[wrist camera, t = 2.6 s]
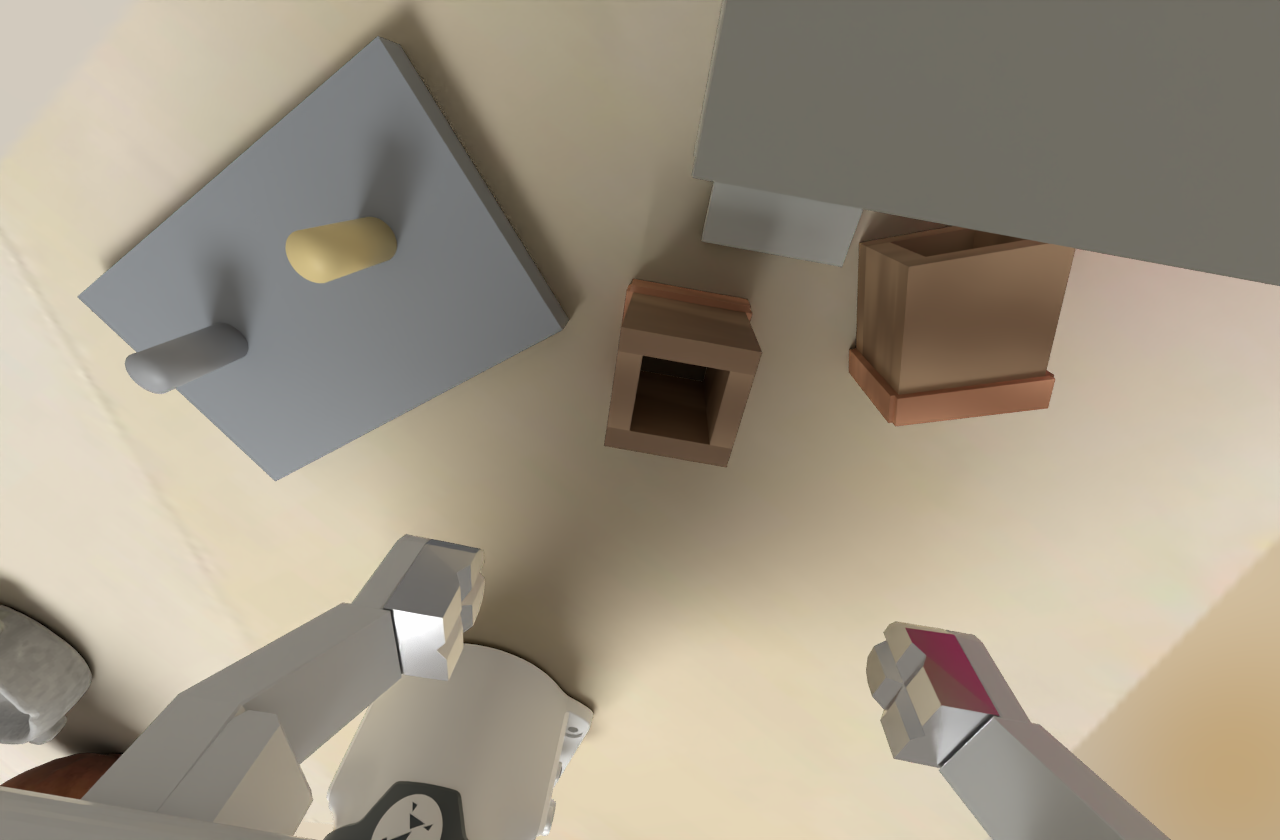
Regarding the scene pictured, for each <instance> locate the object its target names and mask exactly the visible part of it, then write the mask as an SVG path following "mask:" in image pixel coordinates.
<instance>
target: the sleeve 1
mask: <svg viewBox="0 0 1280 840" xmlns="http://www.w3.org/2000/svg"><path fill="white" fill-rule="evenodd" d="M750 307H751V306H750V304H749V302H748V300H747V299H743V298H738V297H732V296H727V295H721V294H716V293H710V292H705V291H699V290H694V289H688V288H683V287H677V286H671V285H666V284H660V283H655V282H649V281H644V280H638V279H633V281H632V284H631V285H629V286H628V289H627V292H626V299H625V305H624V312H623V319H622V326H621V333H620V340H619V346H618V353H617V360H616V367H615V374H614V381H613V388H612V395H611V402H610V408H609V415H608V422H607V429H606V436H605V443H604V446H608V447H614V448H619V449H625V450H631V451H636V452H642V453H648V454H654V455H659V456H665V457H671V458H676V459H682V460H688V461H693V462H699V463H705V464H710V465H716V466H722V467H727V464H728V461H729V458H730V454H731V451H732V448H733V445H734V441H735V438H736V435H737V432H738V428H739V425H740V422H741V419H742V416H743V412H744V409H745V406H746V403H747V399H748V396H749V393H750V390H751V387H752V383H753V380H754V377H755V374H756V370H757V367H758V364H759V361H760V357H761V354H762V351H761V349H760V346H759V344H758V341H757V339H756V337H755V334H754V332H753V329H752V327H751V325H750V320H751V316H752V312H751V310H750ZM643 356H648V357H654V358H660V359H665V360H671V361H676V362H682V363H687V364H693V365H699V366H704V367H707V368H706V372H705V376H704V380H703V381H699V380H693V379H688V378H682V377H677V376H671V375H665V374H660V373H654V372H649V371H643V370H641V366H642V360H643Z"/></svg>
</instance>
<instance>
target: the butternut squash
mask: <svg viewBox="0 0 1280 840" xmlns="http://www.w3.org/2000/svg"><path fill="white" fill-rule="evenodd" d="M121 755H122V754H107V755H102V754H95V753H79V754H74V755H71V756H67V757H63V758H59V759H55V760H52V761H50V762H48V763H45V764H43V765H40V766H38V767H35V768H33V769H30V770H28V771H26V772H23V773H21V774H19V775H17V776H16V777H14V778H12V779H10V780H8V781H6V782H5V783H3V784H2V785H0V786H3V787H9V788H15V789H21V790H27V791H33V792H38V793H44V794H50V795H56V796H62V797H68V798H74V799H81V798H82V797H83V796H84V795H85V794H86V793H87V792H88V791H89V790H90V789H91V788H92V786H93V785H94V784H95V783H96V782H97V781H98V780H99V779H100V778H101V777H102V776H103V775H104V774H105V773H106V771H107V770H108V769H109V768H110V767H111V766H112V765H113V764H114V763H115V762H116V761H117V760H118V759H119V758H120V756H121Z"/></svg>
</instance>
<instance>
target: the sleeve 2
mask: <svg viewBox="0 0 1280 840" xmlns="http://www.w3.org/2000/svg"><path fill="white" fill-rule="evenodd" d="M1074 252H1075V248H1071V247H1065V246H1060V245H1055V244H1049V243H1044V242H1038V241H1033V240H1027V239H1022V238H1017V237H1011V236H1006V235H1000V234H995V233H989V232H984V231H979V230H973V229H968V228H962V227H957V226H951V227H945V228H939V229H934V230H928V231H923V232H917V233H911V234H906V235H900V236H895V237H889V238H883V239H878V240H872V241H867V242H861V243H859V264H858V297H857V331H856V348H854V349H849V373H850V374H851V376H852V377H853V378H854V379H855V381H856V382H857V383H858V385H859V386H860V387H861V388H862V390H863V391H864V392H865V394H866V395H867V396H868V397H869V399H870V400H871V401H872V403H873V404H874V405H875V406H876V408H877V409H878V410H879V412H880V413H881V414H882V415H883V417H884V418H885V419H886V420H887V422H888V423H893V424H894V425H895V426H902V425H910V424H919V423H927V422H936V421H944V420H953V419H961V418H969V417H978V416H986V415H995V414H1003V413H1012V412H1020V411H1028V410H1037V409H1045V408H1048V406H1049V402H1050V398H1051V394H1052V390H1053V386H1054V382H1055V378H1053V377H1054V375H1053V374H1052V373H1050V372H1048V371H1047V365H1048V361H1049V357H1050V353H1051V349H1052V344H1053V340H1054V336H1055V332H1056V328H1057V324H1058V319H1059V315H1060V311H1061V307H1062V303H1063V298H1064V294H1065V290H1066V286H1067V282H1068V278H1069V273H1070V269H1071V265H1072V261H1073V257H1074Z"/></svg>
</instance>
